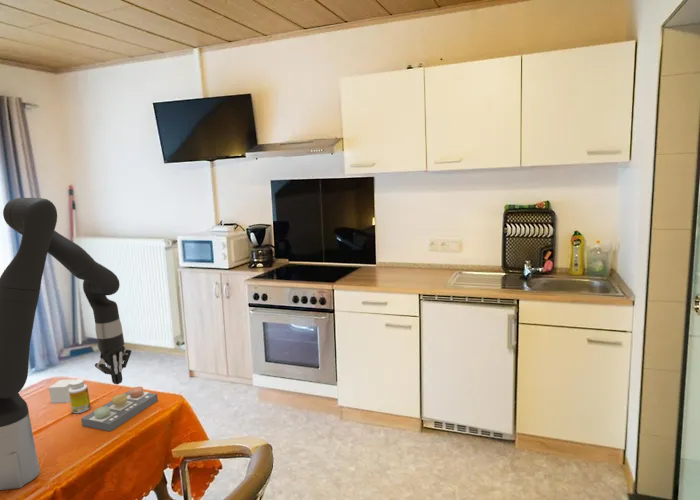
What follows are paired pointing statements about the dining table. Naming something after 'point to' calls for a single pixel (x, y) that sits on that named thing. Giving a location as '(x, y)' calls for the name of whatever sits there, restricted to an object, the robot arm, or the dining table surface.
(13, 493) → the dining table surface
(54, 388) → the off-white cube
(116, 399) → the ochre button
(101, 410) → the sage button
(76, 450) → the dining table surface
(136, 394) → the terracotta button
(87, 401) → the supplement bottle
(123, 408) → the button panel
